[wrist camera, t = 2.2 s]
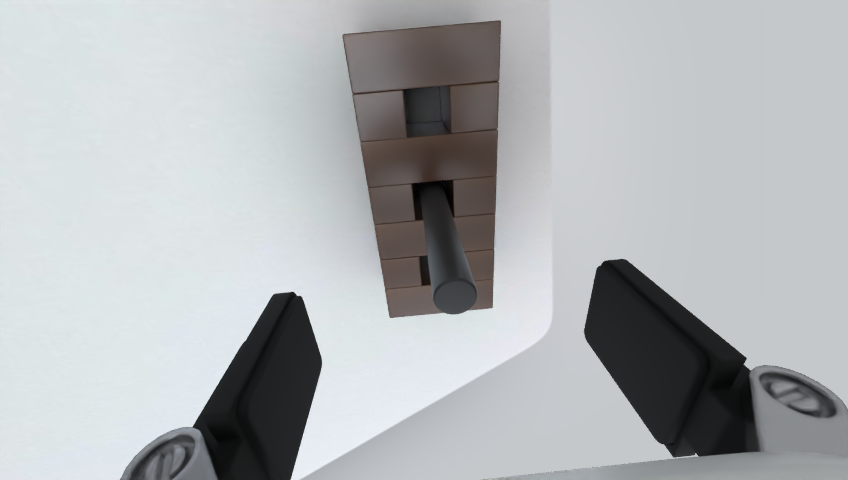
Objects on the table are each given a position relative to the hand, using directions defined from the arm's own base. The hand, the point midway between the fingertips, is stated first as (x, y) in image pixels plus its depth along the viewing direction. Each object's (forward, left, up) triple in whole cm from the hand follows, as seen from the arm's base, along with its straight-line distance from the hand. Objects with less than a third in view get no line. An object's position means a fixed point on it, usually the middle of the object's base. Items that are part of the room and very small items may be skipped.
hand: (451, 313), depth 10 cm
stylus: (0, 0, -14) cm, 14 cm away
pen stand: (0, 0, -14) cm, 14 cm away
